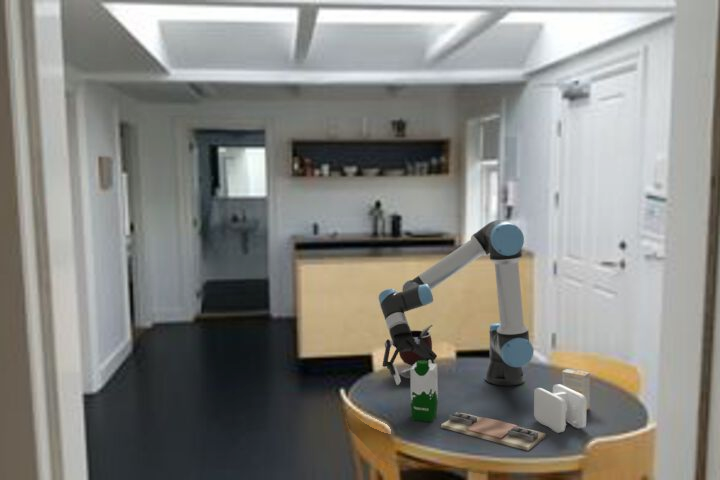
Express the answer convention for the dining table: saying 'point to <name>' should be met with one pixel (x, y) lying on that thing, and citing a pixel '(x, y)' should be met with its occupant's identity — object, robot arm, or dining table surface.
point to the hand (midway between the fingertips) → (417, 380)
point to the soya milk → (424, 391)
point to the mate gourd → (411, 356)
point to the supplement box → (577, 382)
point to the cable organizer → (560, 408)
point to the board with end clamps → (493, 430)
